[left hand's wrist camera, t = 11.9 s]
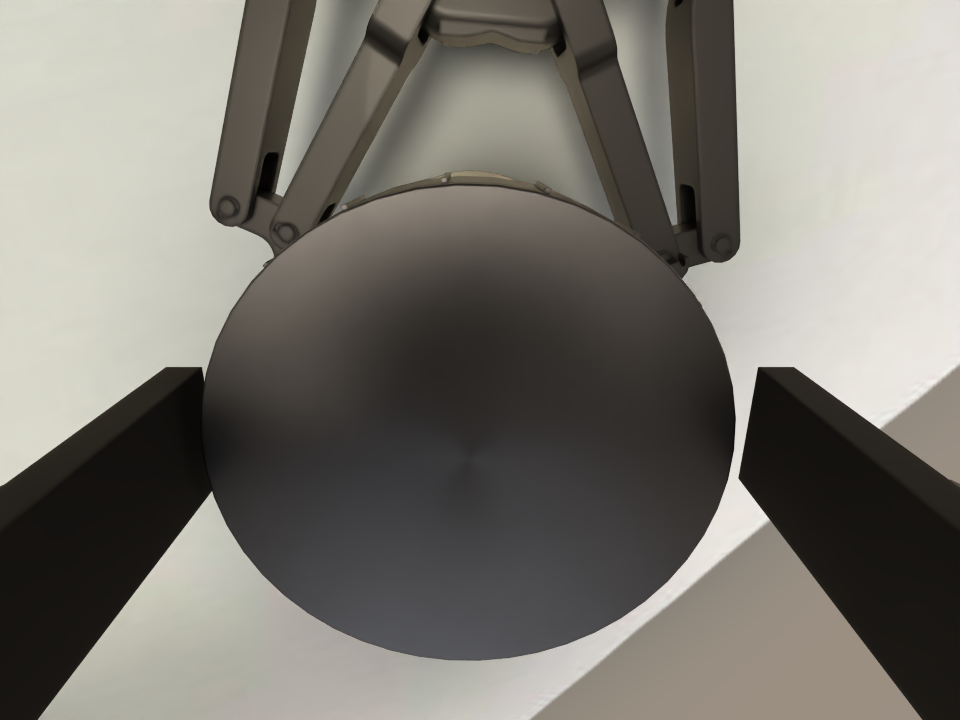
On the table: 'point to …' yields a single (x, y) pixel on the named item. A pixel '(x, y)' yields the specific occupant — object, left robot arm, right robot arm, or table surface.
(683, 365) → the lid
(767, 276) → the table surface
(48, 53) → the table surface
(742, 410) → the table surface
